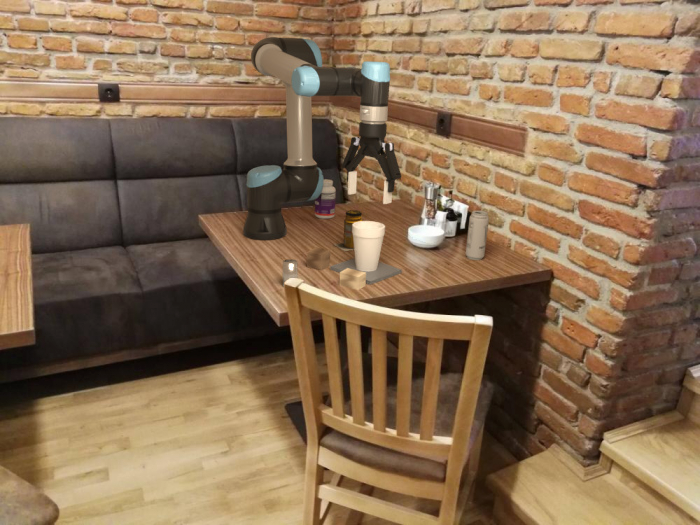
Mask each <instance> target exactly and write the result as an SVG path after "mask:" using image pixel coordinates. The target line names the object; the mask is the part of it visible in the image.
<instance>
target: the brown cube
mask: <svg viewBox="0 0 700 525" xmlns="http://www.w3.org/2000/svg"><path fill="white" fill-rule="evenodd" d="M330 266H331V250H329V249H325V248H321V247H317V246H316V247H314V248H312V249H310V250H308V251H307V252H306V268H309V269H312V270H316V271H323V270H325V269H327V268H328V267H329V268H330Z"/></svg>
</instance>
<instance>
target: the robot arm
mask: <svg viewBox="0 0 700 525" xmlns="http://www.w3.org/2000/svg"><path fill="white" fill-rule="evenodd" d="M250 61H251V64H252V66H253V68H254V69H255V70H256V71H257V72H258V73H260V74H261V75H264V76H267V77H275V78H277V79H278V80H280V82H281V83H282V84H283V85H284V87H285V102H286V103H285V104H286V105H285V107H286V111H285V112H286V141H287V159H286V160H285V161H284V162H283V169H282V166H279V165H275V164H272V165H267V164H266V165H261V166H257V167H254V168H252V169H250V170H249V171H248V172H247V175H246V184H245V185H246V190H247V191H246V195H247V196H246V197H247V199H246V200H247V215H246V218H245V221H244V225H243V226H242V229H243V230H242V233H243V234H242V235H243V236H244V237H245V238H248V239H253V240H258V241H271V240H272V241H273V240H277V239H278V240H279V239H282V238H283V237H285V236H287V232H288V231H287V230H288V228H287V225H286V222H285V219H284V215H283V213H282V204H288V203H290V204H291V203H297V202H298V203H299V202H304V203H306V202H308V201H315V199H317V198H318V197H319V195H320V194H321V192H322V189H323V184H324V175H323V171H322V169H321V168H320V167H318V163H317V162H316V161H315V160H314V158H313V122H312V120H313V119H312V118H313V117H312V114H313V113H312V97H358V98H359V100H360V101H359V120H360V122H359V123H358V135H359V136H353V137H351V139H350V145H349V147H348V150H347V152H346V154H345V156H344V159H343V161H342V164H341V168H343V169H345V170H346V173H347V174H346V182H347V195H354V194H357V178H358V172H357V167H359V165H360V163H362V161H363V159H364V158H365V157H370V158H374V159H375V161H377V162H378V165H379V166H380V168H381V170H382V173H383V174H384V176H385V177H386V178H385V179H384V182H383V185H384V186H383V199H382V204H383V205H388V204H392V201H393V200H392V198H393V197H392V196H393V193H394V192H395V184H396V181H397V180H400V179H401V178H402V173H401V170H400V166H399V163H398V160H397V156H396V153H395V144H394V142H385V138H386V136H387V129H388V125H387V123H386V122H387V121H388V116H389V114H388V113H389V111H388V110H389V95H390V85H391V84H390V83H391V82H390V81H391V73H390V72H391V65H390V64H389V62H387V61H370V60H369V61H368V60H367V61H363V62H362V65H361V68H359V67H353V66H352V67H351V66H348V67H336V66H335V67H331V66H330V67H326V66H323V56H322V52H321V49H320V47H319V46H318V44H317V43H316V42H315V40H312V39H308V38H303V37H299V38H298V37H296V38H295V37H278V36H269V37H266V38H265V37H264V38H262V39H261V40H259V41H257V42H256V43H255V45H254V46H253V48H252V50H251V53H250Z"/></svg>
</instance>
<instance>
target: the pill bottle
mask: <svg viewBox="0 0 700 525" xmlns="http://www.w3.org/2000/svg"><path fill="white" fill-rule="evenodd" d="M333 184H334V181H333V180H332V179H326V178H325V179H324V184H323V189H322V192H321V194H320V195H319V197H318V198H317V199H315V200H314V216H315V217H316V218H318V219H321V220H322V219H323V220H327V219H333V218H334V217H335V215H336V193H337V192H336V191H337V190H336V187H334V186H333Z"/></svg>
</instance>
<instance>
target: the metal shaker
mask: <svg viewBox="0 0 700 525" xmlns="http://www.w3.org/2000/svg"><path fill="white" fill-rule="evenodd" d="M298 263H299V262H298V260H296V259H291V258H289V259H284V260H283V261H282V287H283V288H284V282H285V281H286V280H287V279H289V278H298V277H299V276H298V268H299V267H298Z"/></svg>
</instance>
